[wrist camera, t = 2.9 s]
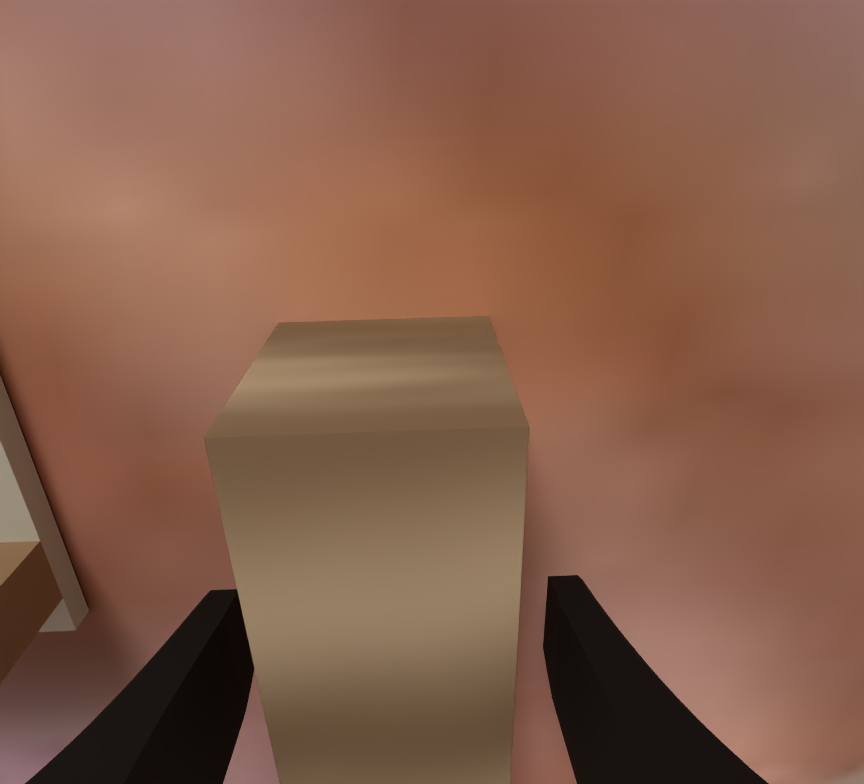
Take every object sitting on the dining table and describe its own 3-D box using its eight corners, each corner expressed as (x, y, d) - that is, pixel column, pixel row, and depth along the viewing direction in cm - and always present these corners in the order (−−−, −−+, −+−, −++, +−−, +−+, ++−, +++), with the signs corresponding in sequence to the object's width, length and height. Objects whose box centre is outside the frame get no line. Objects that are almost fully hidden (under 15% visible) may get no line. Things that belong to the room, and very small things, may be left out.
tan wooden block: (480, 721, 17) (502, 925, 12) (338, 727, 16) (312, 934, 12) (486, 312, 11) (529, 426, 7) (280, 319, 11) (203, 437, 7)
